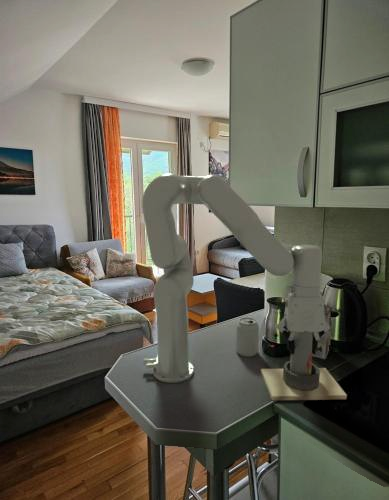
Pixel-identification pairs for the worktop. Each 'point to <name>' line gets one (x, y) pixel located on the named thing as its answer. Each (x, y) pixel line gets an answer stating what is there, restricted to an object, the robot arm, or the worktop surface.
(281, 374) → the bottle holder
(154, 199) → the robot arm
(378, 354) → the worktop surface
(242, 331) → the can
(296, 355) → the lotion bottle
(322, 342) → the coffee box
